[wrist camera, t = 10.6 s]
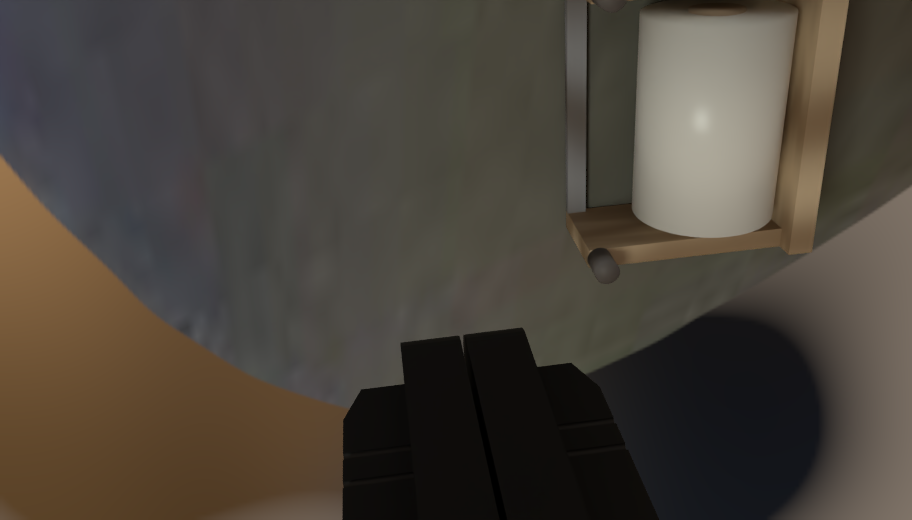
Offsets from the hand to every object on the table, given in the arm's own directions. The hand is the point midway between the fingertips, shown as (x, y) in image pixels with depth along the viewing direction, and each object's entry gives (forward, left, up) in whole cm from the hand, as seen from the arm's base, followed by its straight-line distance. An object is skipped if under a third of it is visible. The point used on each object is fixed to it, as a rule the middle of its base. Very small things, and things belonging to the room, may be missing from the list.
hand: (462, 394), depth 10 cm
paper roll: (+7, +15, -29) cm, 34 cm away
